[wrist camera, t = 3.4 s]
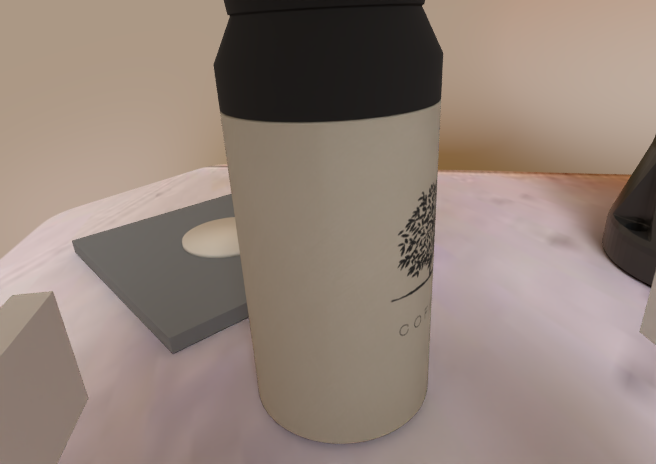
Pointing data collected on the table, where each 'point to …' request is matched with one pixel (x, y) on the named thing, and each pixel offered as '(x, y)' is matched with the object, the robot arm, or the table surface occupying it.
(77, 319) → the table surface
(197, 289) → the mat
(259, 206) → the travel mug
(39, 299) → the robot arm
